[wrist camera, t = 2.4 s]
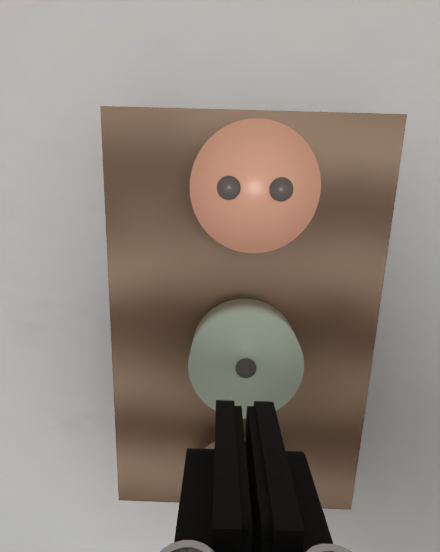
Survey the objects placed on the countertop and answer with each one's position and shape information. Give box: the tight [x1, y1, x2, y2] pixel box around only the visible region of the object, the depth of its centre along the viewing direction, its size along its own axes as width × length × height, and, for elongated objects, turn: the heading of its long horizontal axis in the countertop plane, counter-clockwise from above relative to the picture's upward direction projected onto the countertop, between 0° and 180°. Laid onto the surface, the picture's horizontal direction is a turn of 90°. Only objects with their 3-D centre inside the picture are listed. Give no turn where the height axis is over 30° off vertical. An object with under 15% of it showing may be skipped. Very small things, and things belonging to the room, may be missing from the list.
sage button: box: [188, 299, 304, 419], centre depth 16 cm, size 5×5×2 cm
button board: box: [100, 106, 407, 509], centre depth 20 cm, size 22×14×3 cm, turn 178°
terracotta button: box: [190, 118, 321, 253], centre depth 14 cm, size 5×5×2 cm
